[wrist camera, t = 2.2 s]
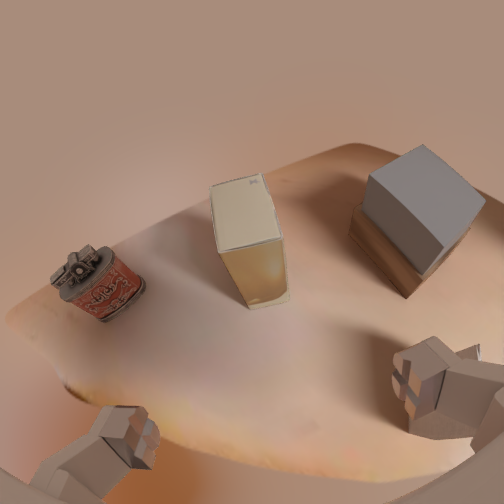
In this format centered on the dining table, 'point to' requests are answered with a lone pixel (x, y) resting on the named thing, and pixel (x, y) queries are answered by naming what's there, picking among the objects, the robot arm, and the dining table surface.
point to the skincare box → (250, 239)
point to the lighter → (98, 283)
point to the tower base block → (391, 253)
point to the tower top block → (421, 205)
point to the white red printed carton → (440, 424)
